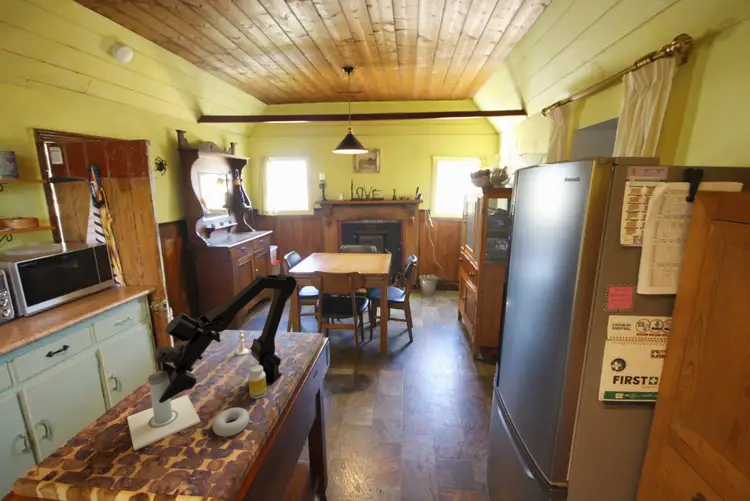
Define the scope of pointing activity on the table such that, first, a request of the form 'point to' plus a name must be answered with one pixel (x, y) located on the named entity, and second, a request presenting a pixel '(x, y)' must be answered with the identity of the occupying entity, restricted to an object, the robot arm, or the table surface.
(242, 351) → the chess piece
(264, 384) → the supplement bottle
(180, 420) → the card
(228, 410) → the donut
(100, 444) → the table surface
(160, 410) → the tube
